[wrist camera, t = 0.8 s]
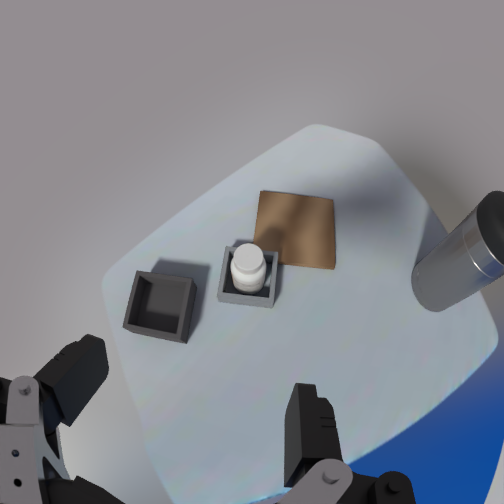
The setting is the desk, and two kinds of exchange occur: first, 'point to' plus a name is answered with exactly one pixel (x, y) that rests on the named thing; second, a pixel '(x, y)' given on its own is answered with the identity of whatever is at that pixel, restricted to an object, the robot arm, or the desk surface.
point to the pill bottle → (248, 269)
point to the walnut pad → (296, 229)
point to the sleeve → (244, 299)
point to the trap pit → (160, 306)
